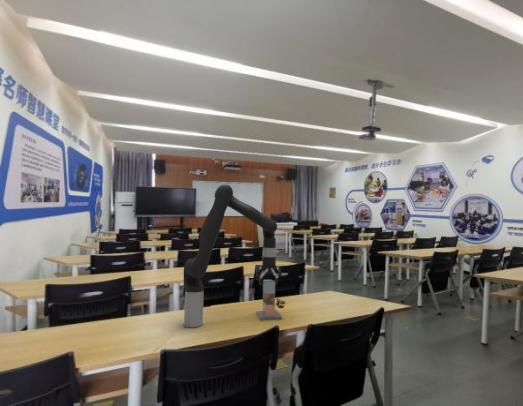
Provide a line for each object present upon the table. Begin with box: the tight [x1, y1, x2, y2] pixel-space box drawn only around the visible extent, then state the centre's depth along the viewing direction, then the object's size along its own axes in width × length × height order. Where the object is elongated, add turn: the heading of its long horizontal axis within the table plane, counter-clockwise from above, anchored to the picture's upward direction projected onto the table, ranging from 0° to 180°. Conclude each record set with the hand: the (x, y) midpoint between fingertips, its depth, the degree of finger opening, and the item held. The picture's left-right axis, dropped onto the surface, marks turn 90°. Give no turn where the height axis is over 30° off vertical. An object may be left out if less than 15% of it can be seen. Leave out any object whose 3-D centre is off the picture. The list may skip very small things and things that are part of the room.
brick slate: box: [262, 279, 276, 295], centre depth 185 cm, size 5×8×6 cm, turn 11°
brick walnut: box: [262, 290, 276, 306], centre depth 185 cm, size 5×8×6 cm, turn 12°
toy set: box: [275, 297, 286, 309], centre depth 207 cm, size 12×11×5 cm
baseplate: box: [255, 301, 283, 321], centre depth 184 cm, size 12×12×8 cm
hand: (268, 284), depth 184 cm, fingers open, 8 cm apart
